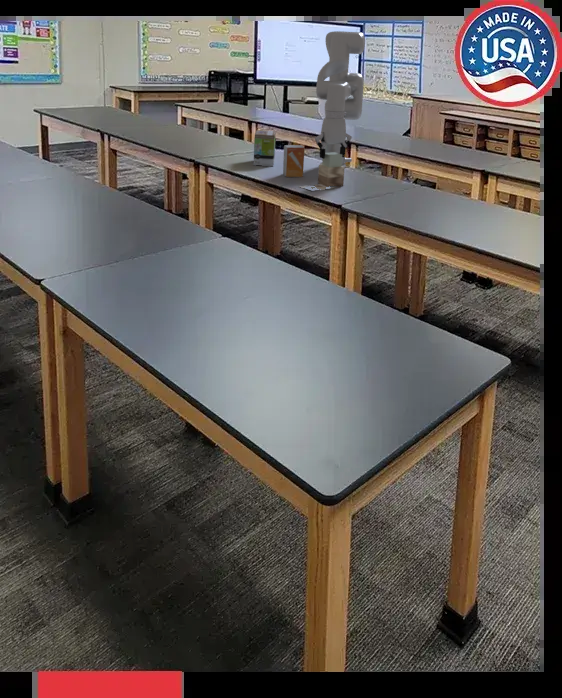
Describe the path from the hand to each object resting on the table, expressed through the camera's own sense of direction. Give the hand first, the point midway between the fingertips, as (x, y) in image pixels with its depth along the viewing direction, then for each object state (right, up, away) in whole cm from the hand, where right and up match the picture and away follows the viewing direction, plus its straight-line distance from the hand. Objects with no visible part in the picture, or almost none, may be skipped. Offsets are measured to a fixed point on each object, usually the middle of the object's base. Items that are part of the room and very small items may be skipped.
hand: (332, 157), depth 287 cm
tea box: (-30, +9, +45) cm, 54 cm away
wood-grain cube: (0, -10, +5) cm, 11 cm away
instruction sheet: (-7, -13, -2) cm, 15 cm away
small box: (-16, -3, +20) cm, 26 cm away
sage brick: (0, -3, +1) cm, 3 cm away
